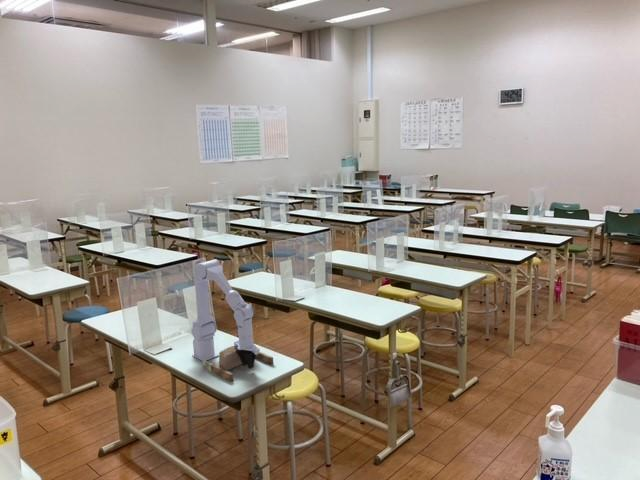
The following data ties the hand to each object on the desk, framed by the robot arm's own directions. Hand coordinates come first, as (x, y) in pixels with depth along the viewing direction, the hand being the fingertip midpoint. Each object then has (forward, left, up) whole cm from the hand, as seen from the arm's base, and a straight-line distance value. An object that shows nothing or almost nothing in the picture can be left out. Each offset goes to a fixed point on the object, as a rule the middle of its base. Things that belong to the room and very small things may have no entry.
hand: (248, 366), depth 204 cm
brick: (-7, 0, -2) cm, 7 cm away
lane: (-7, 0, -2) cm, 7 cm away
